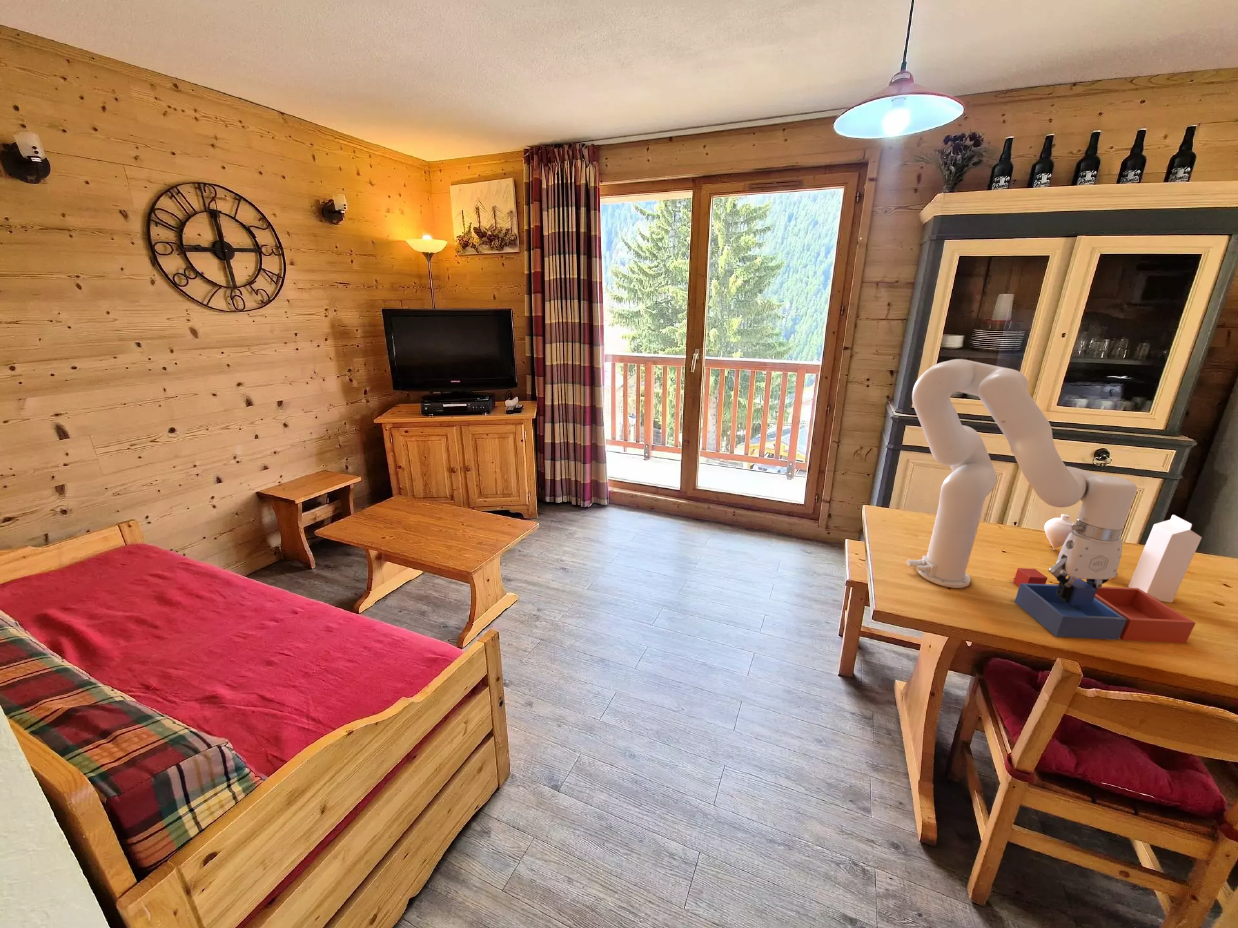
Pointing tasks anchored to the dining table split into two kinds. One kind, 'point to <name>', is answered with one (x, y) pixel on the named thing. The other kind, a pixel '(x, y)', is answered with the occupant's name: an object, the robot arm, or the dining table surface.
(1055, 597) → the blue bin
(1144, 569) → the milk
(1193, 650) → the dining table surface
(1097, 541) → the robot arm
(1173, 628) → the red bin
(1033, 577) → the red block
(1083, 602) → the blue block
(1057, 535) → the spinning top
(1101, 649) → the dining table surface
